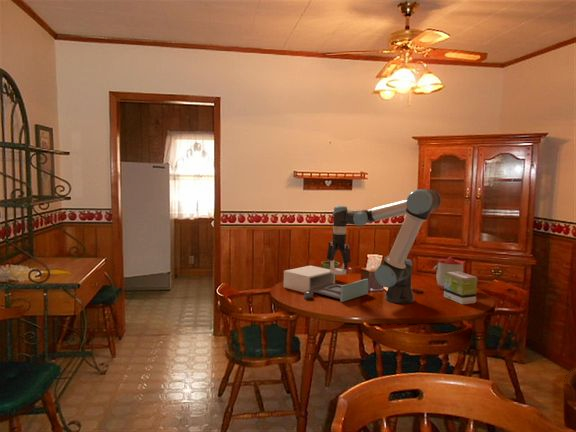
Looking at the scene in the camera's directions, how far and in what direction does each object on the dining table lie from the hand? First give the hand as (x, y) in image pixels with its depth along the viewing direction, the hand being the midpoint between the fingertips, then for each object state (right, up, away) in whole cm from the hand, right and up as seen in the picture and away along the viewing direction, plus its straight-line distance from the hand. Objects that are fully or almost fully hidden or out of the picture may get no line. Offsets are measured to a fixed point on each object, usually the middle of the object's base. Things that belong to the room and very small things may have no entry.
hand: (338, 273), depth 255 cm
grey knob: (-17, -13, -9) cm, 23 cm away
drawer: (0, -12, +1) cm, 12 cm away
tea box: (+67, -15, -6) cm, 69 cm away
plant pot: (-1, -9, +35) cm, 36 cm away
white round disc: (0, 0, 0) cm, 0 cm away
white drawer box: (-16, -10, +16) cm, 25 cm away
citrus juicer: (+69, -12, +19) cm, 73 cm away
